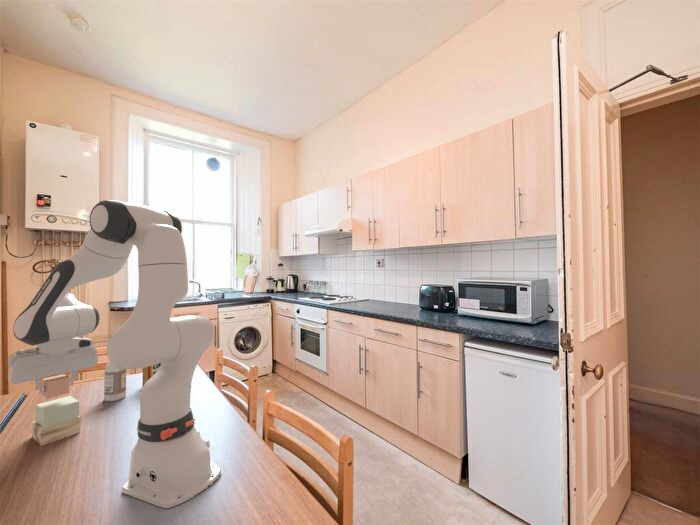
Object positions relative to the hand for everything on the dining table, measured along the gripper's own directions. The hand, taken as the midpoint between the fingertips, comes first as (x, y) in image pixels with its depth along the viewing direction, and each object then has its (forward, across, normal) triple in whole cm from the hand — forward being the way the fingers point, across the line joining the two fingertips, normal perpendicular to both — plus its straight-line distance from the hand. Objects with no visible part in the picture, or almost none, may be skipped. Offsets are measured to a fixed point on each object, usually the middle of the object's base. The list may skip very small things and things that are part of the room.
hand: (55, 388), depth 95 cm
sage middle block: (+10, 0, 0) cm, 10 cm away
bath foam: (+15, +22, +16) cm, 31 cm away
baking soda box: (+15, +38, +16) cm, 44 cm away
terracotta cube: (+2, 0, 0) cm, 2 cm away
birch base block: (+14, 0, 0) cm, 15 cm away
